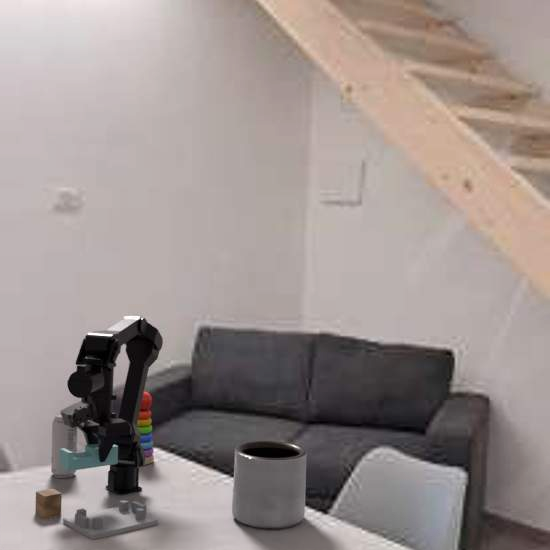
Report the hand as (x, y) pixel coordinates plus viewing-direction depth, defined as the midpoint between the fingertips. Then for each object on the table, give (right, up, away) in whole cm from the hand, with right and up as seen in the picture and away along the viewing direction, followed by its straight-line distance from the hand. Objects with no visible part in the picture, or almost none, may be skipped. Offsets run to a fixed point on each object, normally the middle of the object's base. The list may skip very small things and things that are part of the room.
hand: (97, 459), depth 211 cm
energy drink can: (-13, -9, +25) cm, 30 cm away
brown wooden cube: (-10, -11, -4) cm, 16 cm away
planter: (+38, -13, 0) cm, 40 cm away
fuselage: (-2, -1, -1) cm, 2 cm away
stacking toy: (+3, -9, +40) cm, 41 cm away
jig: (+4, -12, -8) cm, 15 cm away
